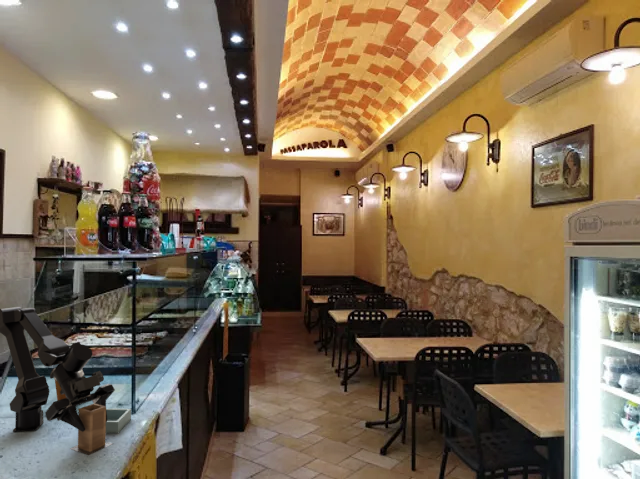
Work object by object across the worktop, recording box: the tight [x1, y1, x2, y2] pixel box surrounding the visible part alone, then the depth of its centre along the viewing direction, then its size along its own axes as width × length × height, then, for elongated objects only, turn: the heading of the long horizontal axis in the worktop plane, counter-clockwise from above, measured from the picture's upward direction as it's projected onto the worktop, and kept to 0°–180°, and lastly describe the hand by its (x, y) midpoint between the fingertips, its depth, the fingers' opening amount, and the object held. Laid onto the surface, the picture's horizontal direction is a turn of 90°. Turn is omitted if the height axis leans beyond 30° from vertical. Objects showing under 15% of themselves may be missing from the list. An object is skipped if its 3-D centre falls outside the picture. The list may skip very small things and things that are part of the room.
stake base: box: [69, 440, 114, 456], centre depth 132 cm, size 8×8×5 cm
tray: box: [106, 408, 132, 434], centre depth 146 cm, size 11×11×4 cm
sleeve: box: [77, 403, 107, 452], centre depth 132 cm, size 5×5×11 cm
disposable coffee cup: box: [53, 369, 85, 401], centre depth 164 cm, size 10×10×12 cm
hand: (95, 426), depth 131 cm, fingers open, 7 cm apart
